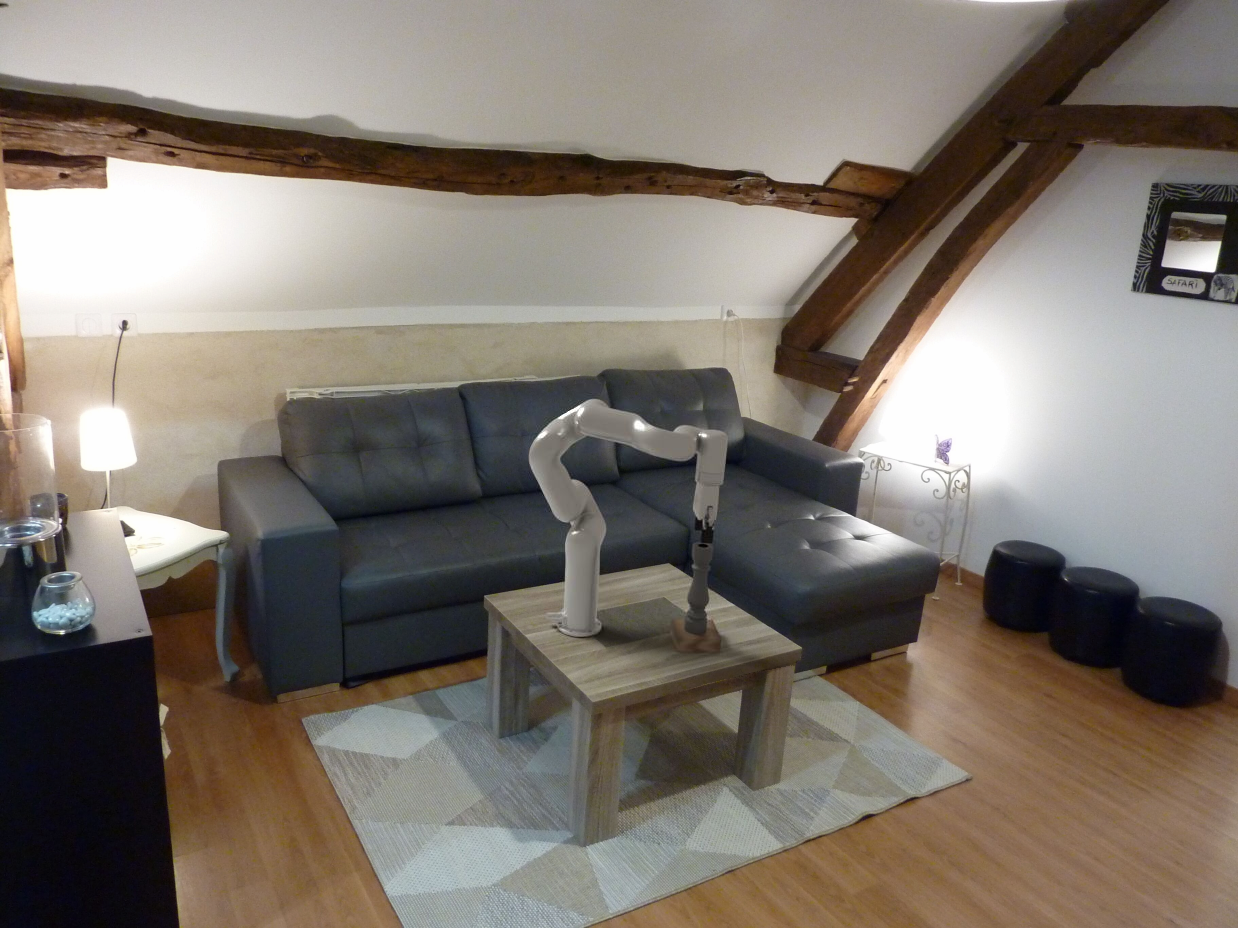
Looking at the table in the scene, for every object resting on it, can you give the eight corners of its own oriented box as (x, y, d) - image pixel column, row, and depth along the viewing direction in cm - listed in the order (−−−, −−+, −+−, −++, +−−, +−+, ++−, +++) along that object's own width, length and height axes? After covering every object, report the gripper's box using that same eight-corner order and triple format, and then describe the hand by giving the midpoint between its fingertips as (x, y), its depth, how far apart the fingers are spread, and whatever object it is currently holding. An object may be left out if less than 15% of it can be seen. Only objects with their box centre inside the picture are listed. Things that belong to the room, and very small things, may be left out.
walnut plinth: (676, 651, 261) (678, 638, 260) (670, 631, 273) (671, 619, 272) (719, 652, 263) (721, 638, 262) (711, 632, 274) (712, 619, 273)
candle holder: (692, 622, 270) (700, 539, 264) (710, 629, 267) (718, 545, 260) (679, 629, 266) (687, 545, 259) (698, 636, 262) (706, 551, 255)
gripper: (690, 466, 262) (684, 524, 267) (701, 485, 246) (694, 547, 250) (717, 467, 263) (710, 526, 268) (730, 486, 247) (722, 548, 251)
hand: (703, 536), depth 259 cm, fingers open, 9 cm apart
